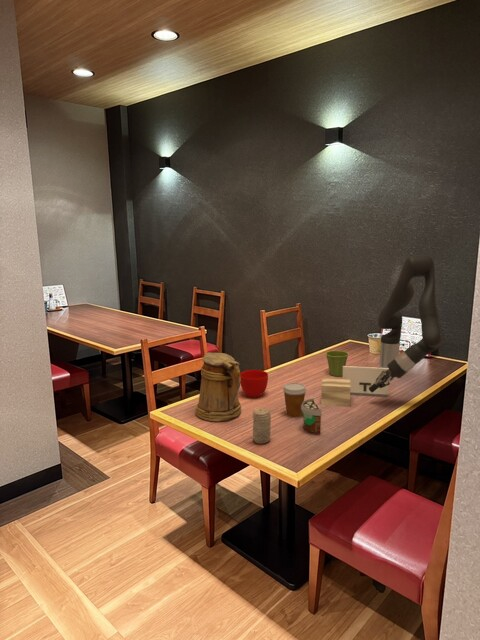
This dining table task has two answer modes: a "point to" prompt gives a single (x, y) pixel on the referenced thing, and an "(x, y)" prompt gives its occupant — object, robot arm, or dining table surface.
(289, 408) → the disposable coffee cup
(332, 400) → the beech block
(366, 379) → the letter sign
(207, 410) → the tankard
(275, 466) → the dining table surface
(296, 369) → the dining table surface
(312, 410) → the food container
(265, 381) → the ceramic cup
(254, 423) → the beige textured cylinder
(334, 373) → the plant pot
